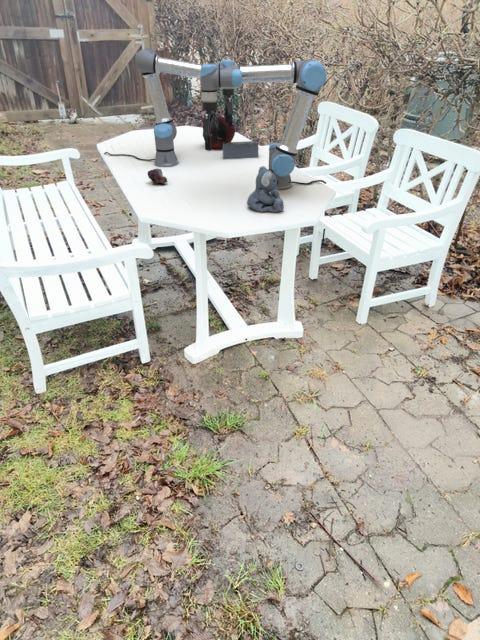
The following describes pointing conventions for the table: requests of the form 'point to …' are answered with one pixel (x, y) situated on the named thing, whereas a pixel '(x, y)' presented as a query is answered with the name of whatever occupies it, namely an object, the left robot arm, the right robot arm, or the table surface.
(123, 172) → the table surface
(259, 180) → the koala plush
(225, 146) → the bar
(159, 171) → the rock
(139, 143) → the table surface
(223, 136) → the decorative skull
